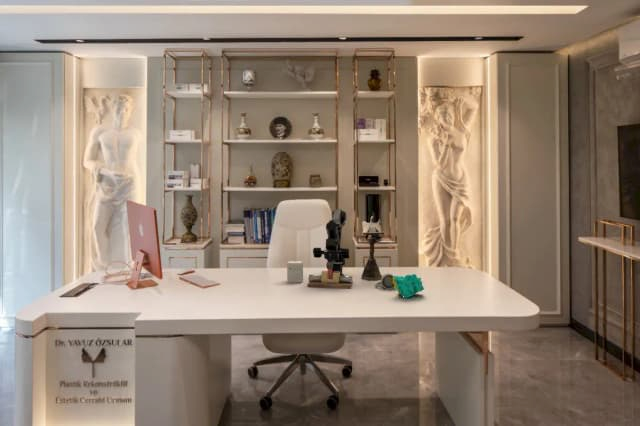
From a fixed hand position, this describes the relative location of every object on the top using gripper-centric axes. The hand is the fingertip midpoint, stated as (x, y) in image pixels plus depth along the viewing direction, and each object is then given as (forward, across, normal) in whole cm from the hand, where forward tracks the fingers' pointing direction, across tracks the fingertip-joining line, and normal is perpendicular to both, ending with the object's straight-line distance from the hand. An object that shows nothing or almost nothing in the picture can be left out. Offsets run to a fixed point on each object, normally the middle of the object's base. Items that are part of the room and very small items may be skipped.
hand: (329, 266), depth 249 cm
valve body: (+4, 0, +8) cm, 9 cm away
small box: (+1, -20, +14) cm, 24 cm away
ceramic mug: (+6, +28, +9) cm, 30 cm away
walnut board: (+5, 0, +9) cm, 11 cm away
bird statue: (-8, +21, +23) cm, 32 cm away
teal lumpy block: (+18, +39, -3) cm, 43 cm away
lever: (+2, 0, +6) cm, 7 cm away
